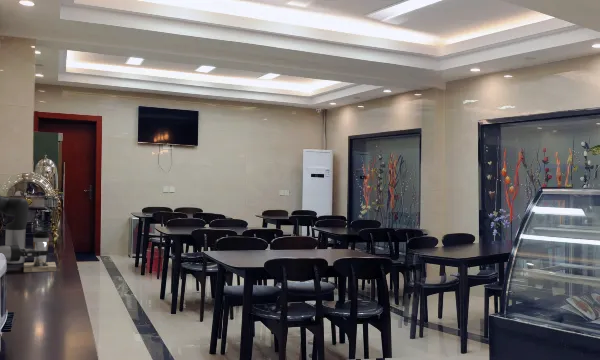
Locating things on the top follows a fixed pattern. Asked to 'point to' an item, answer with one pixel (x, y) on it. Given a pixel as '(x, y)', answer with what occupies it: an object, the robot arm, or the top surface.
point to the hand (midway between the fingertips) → (45, 252)
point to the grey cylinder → (41, 259)
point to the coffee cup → (41, 238)
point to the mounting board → (39, 267)
